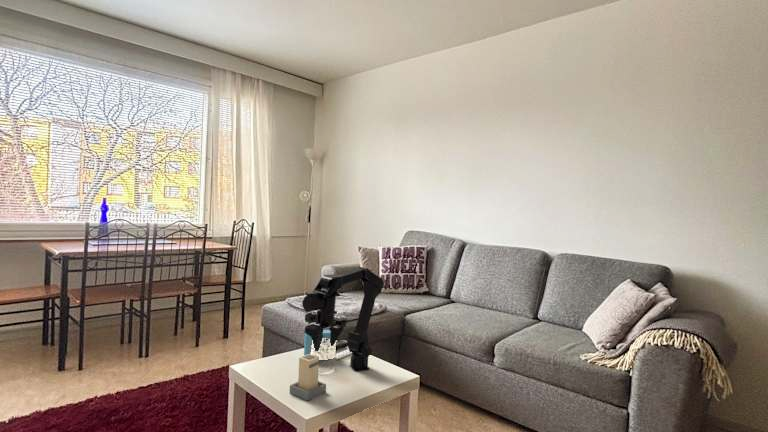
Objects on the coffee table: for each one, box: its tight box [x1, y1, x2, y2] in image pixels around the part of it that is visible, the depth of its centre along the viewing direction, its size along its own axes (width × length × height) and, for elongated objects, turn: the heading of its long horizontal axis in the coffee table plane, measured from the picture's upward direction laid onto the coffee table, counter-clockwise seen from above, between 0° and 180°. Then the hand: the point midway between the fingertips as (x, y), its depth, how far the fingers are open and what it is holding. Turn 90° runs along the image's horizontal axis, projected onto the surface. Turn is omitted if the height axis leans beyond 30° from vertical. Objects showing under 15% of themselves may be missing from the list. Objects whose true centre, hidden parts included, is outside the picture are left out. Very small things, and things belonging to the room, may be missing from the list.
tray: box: [289, 380, 327, 402], centre depth 156 cm, size 9×9×3 cm
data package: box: [303, 329, 330, 356], centre depth 189 cm, size 12×4×12 cm, turn 105°
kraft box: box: [297, 354, 320, 392], centre depth 155 cm, size 5×5×13 cm
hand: (324, 348), depth 165 cm, fingers open, 9 cm apart
